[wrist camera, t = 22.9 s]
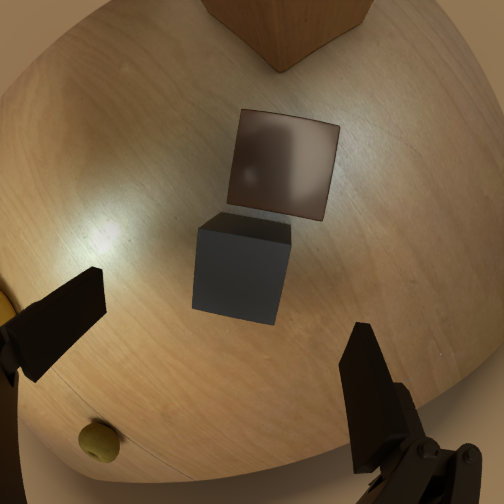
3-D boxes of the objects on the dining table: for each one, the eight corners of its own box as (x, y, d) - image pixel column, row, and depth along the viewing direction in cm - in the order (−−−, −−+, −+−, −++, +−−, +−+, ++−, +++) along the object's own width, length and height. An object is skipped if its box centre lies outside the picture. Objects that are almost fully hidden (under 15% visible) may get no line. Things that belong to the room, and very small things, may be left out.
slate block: (220, 212, 23) (198, 227, 18) (291, 224, 23) (291, 244, 17) (212, 277, 25) (191, 308, 20) (277, 289, 25) (274, 325, 19)
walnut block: (253, 122, 21) (241, 108, 15) (327, 136, 20) (341, 125, 15) (241, 193, 23) (225, 203, 17) (314, 207, 22) (322, 222, 16)
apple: (132, 445, 39) (118, 472, 32) (100, 434, 40) (85, 458, 33) (116, 422, 36) (99, 450, 30) (84, 411, 37) (66, 435, 31)
